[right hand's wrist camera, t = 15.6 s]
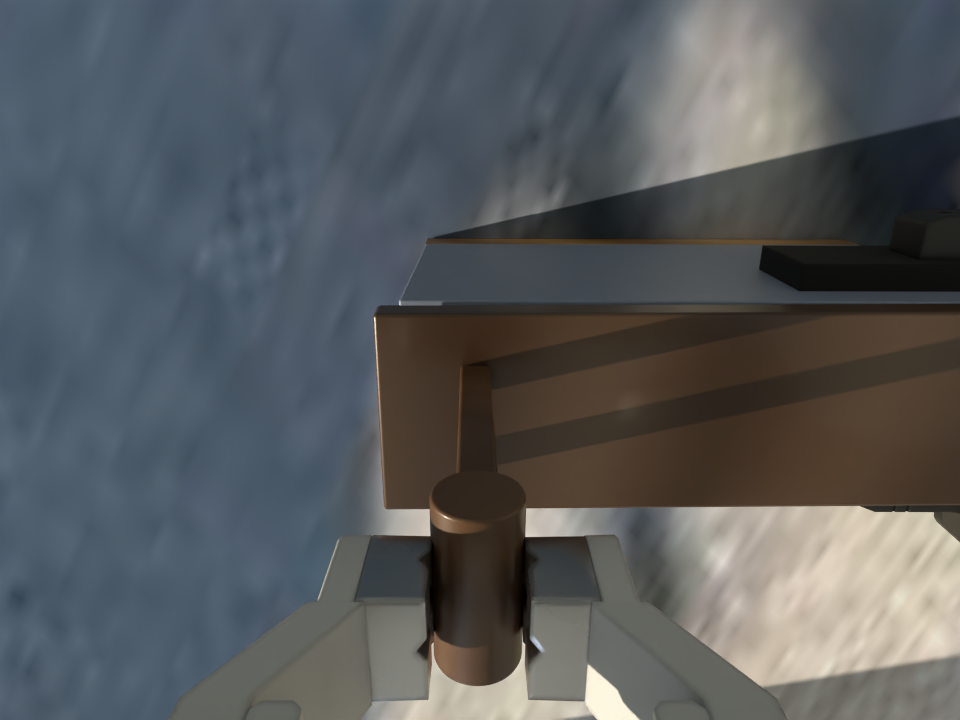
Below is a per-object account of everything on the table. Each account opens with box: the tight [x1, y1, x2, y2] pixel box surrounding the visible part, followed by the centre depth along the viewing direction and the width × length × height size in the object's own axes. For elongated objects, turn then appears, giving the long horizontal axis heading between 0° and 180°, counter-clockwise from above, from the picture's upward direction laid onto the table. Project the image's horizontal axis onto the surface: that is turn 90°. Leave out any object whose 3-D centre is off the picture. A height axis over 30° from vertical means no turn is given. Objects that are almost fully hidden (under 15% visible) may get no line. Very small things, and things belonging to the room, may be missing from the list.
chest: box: [399, 239, 960, 305], centre depth 21 cm, size 16×5×9 cm, turn 90°
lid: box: [373, 304, 960, 686], centre depth 13 cm, size 16×5×8 cm, turn 90°
